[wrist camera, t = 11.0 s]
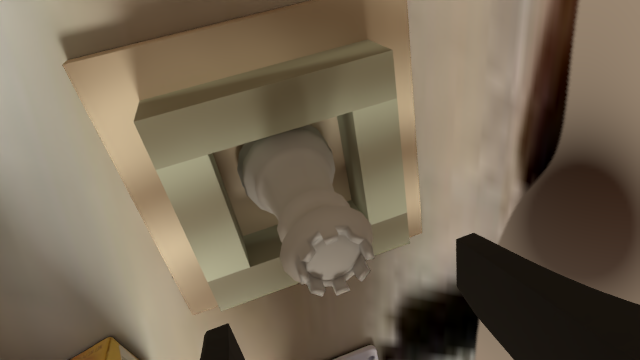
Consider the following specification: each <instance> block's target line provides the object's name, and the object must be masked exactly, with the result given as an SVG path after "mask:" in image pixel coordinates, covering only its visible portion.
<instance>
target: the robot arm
mask: <svg viewBox="0 0 640 360" xmlns="http://www.w3.org/2000/svg"><path fill="white" fill-rule="evenodd" d="M456 262H457V287H458V289H459V290H460V292H461V293H462V295H463V296H464V298H465V300H466V301H467V303H468V304H469V306H470V307H471V308H472V310H473V311H474V313H475V314H476V316H477V317H478V318H479V319H480V320H481V322H482V323H483V324H484V325H485V326H486V327H487V328H488V330H489V331H490V332H491V333H492V335H493V336H494V337H495V338H496V339H497V340H498V341H499V343H500V344H501V345H502V346H503V347H504V348H505V350H506V351H507V352H508V353H509V354H510V356H511V357H512V358H513V359H514V360H640V305H638V304H635V303H632V302H629V301H626V300H624V299H621V298H618V297H615V296H612V295H610V294H607V293H604V292H601V291H599V290H596V289H593V288H591V287H588V286H586V285H583V284H581V283H579V282H576V281H574V280H571V279H569V278H566V277H564V276H562V275H560V274H557V273H555V272H553V271H551V270H549V269H546V268H544V267H542V266H540V265H538V264H536V263H534V262H531V261H529V260H527V259H525V258H523V257H521V256H519V255H517V254H515V253H513V252H511V251H509V250H507V249H505V248H503V247H501V246H499V245H497V244H495V243H493V242H491V241H489V240H487V239H485V238H483V237H481V236H479V235H477V234H475V233H472V234H469V235H467V236H464V237H461V238H458V239H456ZM200 360H245V358H244V356H243V354H242V352H241V350H240V347H239V345H238V343H237V341H236V339H235V337H234V334H233V332H232V330H231V328H230V326H229V323H228V324H225V325H222V326H220V327H217V328H214V329H211V330H209V331H207V332H206V334H205V335H204V341H203V347H202V353H201V358H200ZM333 360H378V355H377V350H376V348H375V346H373V345H368V346H365V347H363V348H360V349H358V350H355V351H353V352H350V353H348V354H345V355H343V356H340V357H338V358H335V359H333Z"/></svg>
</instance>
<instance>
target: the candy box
mask: <svg viewBox="0 0 640 360" xmlns="http://www.w3.org/2000/svg"><path fill="white" fill-rule="evenodd" d="M70 360H139V359H138V358H137V357H135V356H134V355H133V354H132V353H130V352H129V351H128V350H127V349H125V348H124V347H123V346H121V345H120V344H119V343H118V342H117V341H116V340H115V339H114V338H112V337H108V338H106V339H104V340H102V341H101V342H99V343H97V344H95V345H94V346H93V347H91V348H89V349H88V350H86V351H84V352H82V353H81V354H79V355H77V356H76V357H74V358H72V359H70Z"/></svg>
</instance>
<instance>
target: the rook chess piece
mask: <svg viewBox="0 0 640 360" xmlns="http://www.w3.org/2000/svg"><path fill="white" fill-rule="evenodd" d="M237 171H238V174H239V177H240V180H241V183H242V186H243V187H244V189H245V192H246V195H247V196H248V197H249V198H250V199H251V200H252V201H253V202H254V203H255V204H256V205H257V206H258V207H259V208H260V209H262V210H265V211H267V212H269V213H272V214H274V215H275V216H276V218H277V219H278V227H277V231H278V234H279V237H280V240H281V242H282V246H281V252H280V259H281V262H282V266H283V269H284V271H285V272H286V273H287V274H288V275H289V276H290V277H291V278H293V279H294V280H295V281H297V282H301V285H303V284H307V286H308V289H309V291H310V293H312V294H315V295H319V296H322V297H323V294H324V292H325V290H326V289H325V287H328V286H332V287H333V289H334V292H335V294H336V296H337V295H340V294H342V293H345V292H348V291H350V289H349V287H348V285H347V283H346V281H347V280H348V279H349V278H351V277H352V276H353V275H355V276H356V278H357V279H359V280H360V281H363V280H364V279H365V277H366V276H367V275H368V274H369V272H370V271H371V270H370V269H369V267H368V265H367V264H366V262H365V261H366V260H369V259H374V253H373V247H372V241H373V234H372V227H371V224H370V222H369V221H368V220H367V219H366V217H365V216H364V215H363V213H361V212H359V211H357V210H355V209H352V208H350V205H349V204H348V202H347V201H346V200H345V199H344V197H343V196H342V195H340V194H338V193H336V192H335V191H334V188H333V186H332V183H333V178H334V174H335V165H334V160H333V154H332V150H331V149H330V147H329V146H328V144H327V141H326V140H325V139H324V137H323V136H322V135H321V133H320V132H319V131H318V129H316V128H315V127H313V126H311V125H306V126H302V127H299V128H295V129H292V130H289V131H285V132H282V133H279V134H275V135H272V136H269V137H265V138H262V139H259V140H255V141H252V142H248V143H245V144H244V145H243V147H242V149H241V150H240V152H239V158H238V167H237Z"/></svg>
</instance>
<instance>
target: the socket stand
mask: <svg viewBox="0 0 640 360" xmlns="http://www.w3.org/2000/svg"><path fill="white" fill-rule="evenodd" d="M63 67H64V69H65V71H66V73H67V75H68V77H69V79H70V81H71V82H72V84H73V86H74V88H75V90H76V92H77V94H78V96H79V98H80V100H81V102H82V104H83V106H84V107H85V109H86V111H87V113H88V115H89V117H90V119H91V121H92V123H93V125H94V127H95V129H96V131H97V132H98V134H99V136H100V138H101V140H102V142H103V144H104V146H105V148H106V150H107V152H108V154H109V155H110V157H111V159H112V161H113V163H114V165H115V167H116V169H117V171H118V173H119V175H120V177H121V179H122V180H123V182H124V184H125V186H126V188H127V190H128V192H129V194H130V196H131V198H132V200H133V202H134V203H135V205H136V207H137V209H138V211H139V213H140V215H141V217H142V219H143V221H144V223H145V225H146V227H147V228H148V230H149V232H150V234H151V236H152V238H153V240H154V242H155V244H156V246H157V248H158V250H159V251H160V253H161V255H162V257H163V259H164V261H165V263H166V265H167V267H168V269H169V271H170V273H171V275H172V276H173V278H174V280H175V282H176V284H177V286H178V288H179V290H180V292H181V294H182V296H183V298H184V299H185V301H186V303H187V305H188V307H189V309H190V311H191V313H192V315H195V314H198V313H201V312H204V311H206V310H209V309H212V308H215V307H218V306H219V308H220V310H221V311H224V310H227V309H230V308H232V307H235V306H238V305H241V304H243V303H246V302H249V301H252V300H254V299H257V298H260V297H263V296H265V295H268V294H271V293H274V292H276V291H279V290H282V289H285V288H287V287H290V286H293V285H296V284H299V283H301V282H297V281H295V280H294V279H293V278H291V277H290V276H289V275H288V274H287V273H286V272H285V271H284V269H283V266H282V262H281V259H280V252H281V246H282V242H281V240H280V237H279V234H278V231H277V227H278V219H277V218H276V216H275V215H274V214H272V213H269V212H267V211H265V210H262V209H260V208H259V207H258V206H257V205H256V204H255V203H254V202H253V201H252V200H251V199H250V198H249V197H248V196H247V195H246V192H245V189H244V187H243V186H242V183H241V180H240V177H239V174H238V171H237V167H238V158H239V152H240V150H241V149H242V147H243V145H244V144H245V143H248V142H252V141H255V140H259V139H262V138H265V137H269V136H272V135H275V134H279V133H282V132H285V131H289V130H292V129H295V128H299V127H302V126H306V125H311V126H313V127H315V128H316V129H318V131H319V132H320V133H321V135H322V136H323V137H324V139H325V140H326V141H327V144H328V146H329V147H330V149H331V150H332V154H333V160H334V165H335V174H334V178H333V183H332V186H333V188H334V191H335V192H336V193H338V194H340V195H342V196H343V197H344V199H345V200H346V201H347V202H348V204H349V205H350V208H352V209H355V210H357V211H359V212H361V213H363V215H364V216H365V217H366V219H367V220H368V221H369V222H370V224H371V227H372V234H373V241H372V247H373V253H374V256H376V255H379V254H381V253H384V252H387V251H390V250H392V249H395V248H398V247H401V246H403V245H406V244H409V243H410V240H409V237H412V236H415V235H418V234H420V233H422V223H421V207H420V192H419V177H418V162H417V146H416V131H415V116H414V101H413V85H412V70H411V55H410V40H409V24H408V9H407V0H310V1H306V2H302V3H298V4H294V5H290V6H286V7H282V8H277V9H273V10H269V11H265V12H261V13H257V14H253V15H249V16H245V17H241V18H237V19H233V20H229V21H225V22H221V23H217V24H213V25H209V26H204V27H200V28H196V29H192V30H188V31H184V32H180V33H176V34H172V35H168V36H164V37H160V38H156V39H152V40H148V41H144V42H140V43H135V44H131V45H127V46H123V47H119V48H115V49H111V50H107V51H103V52H99V53H95V54H91V55H87V56H83V57H79V58H75V59H71V60H67V61H66V62H65V63H64V64H63Z"/></svg>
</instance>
